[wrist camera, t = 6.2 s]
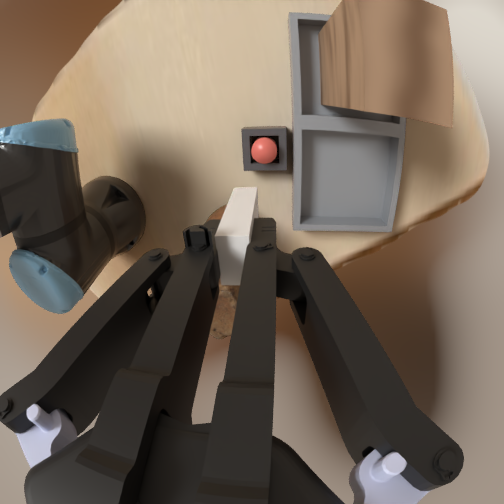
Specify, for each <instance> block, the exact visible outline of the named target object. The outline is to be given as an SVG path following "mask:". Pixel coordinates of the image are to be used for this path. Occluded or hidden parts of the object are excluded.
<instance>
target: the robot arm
mask: <svg viewBox="0 0 504 504" xmlns="http://www.w3.org/2000/svg"><path fill="white" fill-rule="evenodd" d="M77 152H78V148H77V146H76V138H75V130H74V126H73V124H72V122H71V121H69V120H67V119H50V120H42V121H35V122H29V123H24V124H19V125H14V126H10V127H5V128H0V237H3V236H5V235H7V234H9V233H11V232H12V233H13V236H14V239H15V243H16V246H17V250H14V251H13V252H12V255H11V257H10V260H9V262H10V263H9V267H10V271H11V273H12V276H13V278H14V279H15V281H16V283H17V284H18V285H19V287H20V288H21V290H22V291H23V292H24V293H25V294H26V295H27V296H28V297H29V298H30V299H31V300H32V301H34V302H35V303H36V304H37V305H39V306H40V307H42V308H44V309H46V310H47V311H50V312H53V313H58V314H63V313H66V312H68V311H70V310H71V309H72V308H73V307H74V306H75V304H76V303H77V302H78V301H79V300H81V299H82V298H83V296H84V294H85V293H86V291H87V290H88V289H89V287H90V286H91V285H92V283H93V282H94V281H95V279H96V278H97V276H98V275H99V274H100V273H101V271H102V270H103V269H104V267H105V266H106V265H107V263H108V262H109V261H110V260H111V259H112V258H114V257H116V256H119V255H121V254H123V253H125V252H127V251H129V250H130V249H131V248H133V247H134V246H135V244H136V243H137V242H138V241H139V240H140V238H141V237H142V235H143V232H144V229H145V213H144V209H143V206H142V203H141V201H140V199H139V197H138V196H137V194H136V193H135V191H134V190H133V189H132V188H131V187H130V186H129V185H128V184H126V183H125V182H123V181H122V180H120V179H118V178H115V177H111V176H101V177H98V178H95V179H94V180H92V181H90V182H89V183H87V184H86V185H85V186H84V187H83V188H82V187H81V180H80V173H79V165H78V154H77ZM183 236H184V241H185V247H186V248H185V250H184V252H183V254H179V255H174V256H169V252H168V251H167V250H165V249H159V248H158V249H153V250H151V251H148V252H147V253H146V254H144V255H143V256H142V257H141V258H140V259H139V260H138V261H137V262H136V263H135V264H134V265H132V266H131V267H130V268H129V269H128V270H127V271H126V272H125V273H124V274H123V275H122V276H121V277H120V278H119V279H118V280H117V281H116V282H115V283H114V284H113V285H112V286H111V287H110V288H109V289H108V290H107V291H106V292H105V293H104V294H103V295H102V296H101V297H100V298H99V299H98V300H97V301H96V302H95V303H94V304H93V305H92V306H91V307H90V308H89V309H88V310H87V311H86V312H85V313H84V314H83V316H82V317H81V318H80V319H79V320H78V321H77V322H76V323H75V324H74V325H73V326H72V327H71V328H70V330H69V331H68V332H67V333H66V334H65V335H64V336H63V337H62V339H61V340H60V341H59V342H58V343H57V344H56V345H55V346H54V348H53V349H52V350H51V351H50V352H49V353H48V355H47V356H46V357H45V358H44V359H43V361H42V362H41V363H40V364H39V365H38V367H37V368H36V369H35V370H34V371H33V372H32V373H30V374H29V375H27V376H26V377H25V378H23V379H22V380H20V381H19V382H18V383H16V384H15V385H14V386H12V387H11V388H9V389H8V390H7V391H6V392H4V393H3V394H2V395H1V396H0V421H1V422H2V423H3V424H4V425H6V426H7V427H8V428H10V429H11V430H12V431H13V432H14V433H16V435H17V438H18V440H19V442H20V445H21V448H22V450H23V452H24V454H25V456H26V459H27V461H28V463H29V465H30V467H31V469H30V471H29V472H28V474H27V476H26V479H25V484H24V490H25V491H24V492H25V497H26V503H27V504H344V502H342V501H341V500H340V499H339V498H338V497H337V496H336V495H335V494H334V493H333V492H332V491H331V490H330V489H329V488H328V487H327V485H326V484H325V483H324V482H323V481H322V480H321V479H320V478H319V477H318V476H317V475H316V474H315V473H314V472H313V471H312V470H311V469H310V467H309V466H308V465H307V464H306V463H305V462H304V461H303V460H302V459H301V458H300V456H299V455H298V454H297V453H296V452H295V451H294V450H293V449H292V448H291V447H290V446H289V445H288V444H286V443H285V442H283V441H282V440H280V439H278V438H276V437H275V436H272V427H273V403H274V374H275V372H274V371H275V333H276V332H275V330H276V329H275V328H276V296H277V297H281V298H285V299H289V300H290V305H291V308H292V310H293V312H294V315H295V318H296V320H297V323H298V325H299V328H300V330H301V332H302V335H303V338H304V340H305V343H306V345H307V348H308V350H309V353H310V355H311V358H312V361H313V363H314V365H315V368H316V371H317V373H318V376H319V378H320V381H321V384H322V386H323V389H324V391H325V393H326V397H327V399H328V402H329V404H330V407H331V410H332V412H333V415H334V417H335V420H336V423H337V425H338V428H339V431H340V433H341V436H342V439H343V441H344V443H345V446H346V448H347V450H348V452H349V454H350V455H351V457H352V459H353V460H354V462H355V463H356V465H355V466H354V468H353V469H352V471H351V472H350V476H349V484H350V486H351V489H352V491H353V493H354V503H353V504H417V503H418V502H419V501H420V500H421V499H422V498H423V497H424V496H425V495H426V494H427V493H428V492H429V491H431V490H433V489H435V488H438V487H440V486H443V485H445V484H448V483H450V482H452V481H453V480H454V479H455V478H456V477H457V476H458V475H459V473H460V471H461V469H462V467H463V462H464V456H463V452H462V449H461V448H460V447H459V445H458V444H457V443H456V442H455V441H454V440H452V439H451V438H450V437H449V436H448V435H447V434H446V433H445V432H443V430H441V429H440V428H439V427H438V426H437V425H436V424H435V423H434V422H433V421H431V420H430V419H429V418H428V417H427V416H426V415H425V414H424V413H423V412H422V411H421V410H419V409H418V408H417V407H416V405H415V404H414V402H413V400H412V398H411V396H410V395H409V393H408V391H407V389H406V387H405V385H404V383H403V382H402V380H401V378H400V376H399V375H398V373H397V371H396V369H395V368H394V366H393V364H392V363H391V361H390V359H389V357H388V356H387V354H386V352H385V351H384V349H383V347H382V346H381V344H380V342H379V341H378V339H377V337H376V336H375V334H374V333H373V331H372V329H371V328H370V326H369V324H368V323H367V321H366V320H365V318H364V317H363V315H362V313H361V312H360V310H359V309H358V307H357V306H356V304H355V302H354V301H353V299H352V298H351V296H350V295H349V293H348V292H347V290H346V289H345V287H344V286H343V284H342V283H341V281H340V280H339V278H338V277H337V275H336V274H335V272H334V271H333V269H332V268H331V266H330V265H329V264H328V262H327V261H326V259H325V258H324V256H323V255H322V253H320V252H319V251H318V250H316V249H314V248H309V247H306V248H299V249H296V250H295V251H293V253H292V255H291V254H287V253H284V252H281V251H280V250H279V249H278V248H277V246H276V222H275V220H274V219H273V218H258V192H257V187H235V188H234V189H233V192H232V194H231V197H230V199H229V202H228V204H227V206H226V209H225V211H224V214H223V216H222V219H211V220H209V221H207V222H206V223H205V224H204V225H195V226H191V227H189V228H187V229H185V230H184V231H183ZM219 279H221V285H240V288H239V293H238V299H237V305H236V311H235V316H234V322H233V328H232V334H231V340H230V345H229V351H228V357H227V364H226V369H225V375H224V380H223V382H220V383H219V386H218V389H217V393H216V399H215V405H214V411H213V416H212V421H211V423H206V424H195V425H192V417H191V413H192V407H193V403H194V398H195V393H196V389H197V385H198V380H199V376H200V372H201V367H202V362H203V358H204V354H205V350H206V346H207V341H208V337H209V333H210V329H211V325H212V321H213V316H214V312H215V308H216V304H217V300H218V296H219V292H220V290H219ZM150 287H151V290H152V294H151V295H150V296H148V293H147V291H148V290H149V288H150ZM99 412H100V413H99ZM98 413H99V415H98ZM97 415H98V418H97V421H96V423H95V426H94V427H93V428H92V429H90V430H89V431H87V432H86V433H84V434H83V435H81V436H80V437H77V436H78V435H79V434H80V433H82V432H83V431H84V430H85V429H86V428H87V427H88V426H89V425H90V424H91V423H92V421H93V420H94V419H95V417H96V416H97Z"/></svg>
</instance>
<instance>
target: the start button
mask: <svg viewBox="0 0 504 504" xmlns="http://www.w3.org/2000/svg"><path fill="white" fill-rule="evenodd" d="M251 154H252V157H253V158H254V159H255V160H256V161H257V162H259V163H262V164H267V163H270V162H272V161H273V160H274V159H275V157H276V155H277V144H276V142H275V140H274V139H273V138H271V137H269V136H261V137H259V138H257V139H256V140H255V142H254V144H253V146H252V149H251Z"/></svg>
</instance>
